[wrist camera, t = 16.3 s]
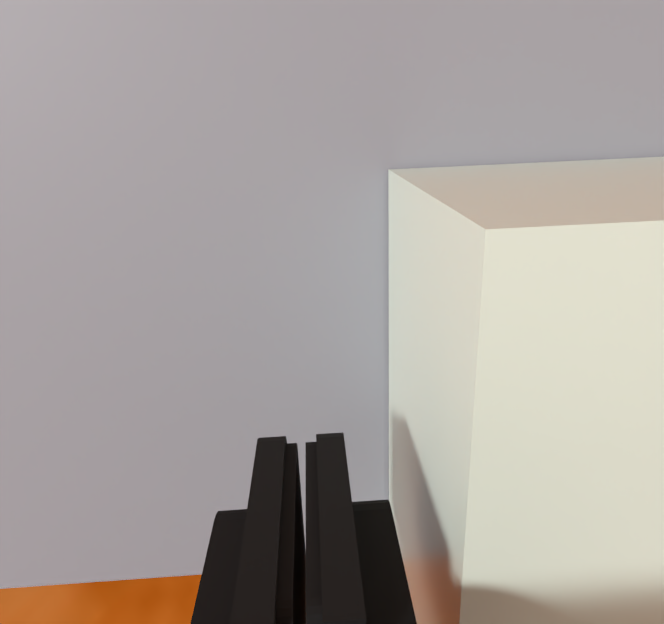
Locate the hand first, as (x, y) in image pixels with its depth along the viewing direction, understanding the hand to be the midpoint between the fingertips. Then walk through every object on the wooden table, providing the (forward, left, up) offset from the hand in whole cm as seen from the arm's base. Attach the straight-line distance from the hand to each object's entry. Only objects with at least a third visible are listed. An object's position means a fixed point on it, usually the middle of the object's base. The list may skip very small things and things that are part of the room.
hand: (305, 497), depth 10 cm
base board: (+2, 0, -5) cm, 5 cm away
